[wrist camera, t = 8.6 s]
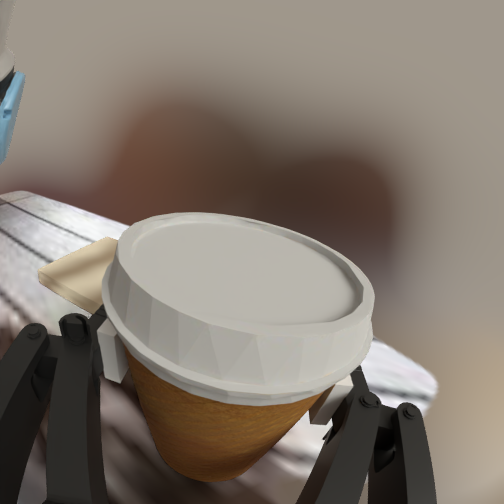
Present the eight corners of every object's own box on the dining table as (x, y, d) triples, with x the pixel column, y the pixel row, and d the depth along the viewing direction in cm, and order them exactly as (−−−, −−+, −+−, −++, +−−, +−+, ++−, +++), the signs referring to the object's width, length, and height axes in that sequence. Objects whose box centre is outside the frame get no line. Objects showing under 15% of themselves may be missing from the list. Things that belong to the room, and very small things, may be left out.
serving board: (39, 282, 22) (37, 269, 22) (107, 247, 33) (107, 236, 33) (203, 364, 19) (205, 350, 19) (243, 294, 30) (246, 282, 30)
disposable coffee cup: (123, 381, 16) (118, 201, 11) (254, 376, 19) (302, 221, 15) (139, 513, 8) (67, 359, 3) (310, 483, 11) (440, 324, 7)
